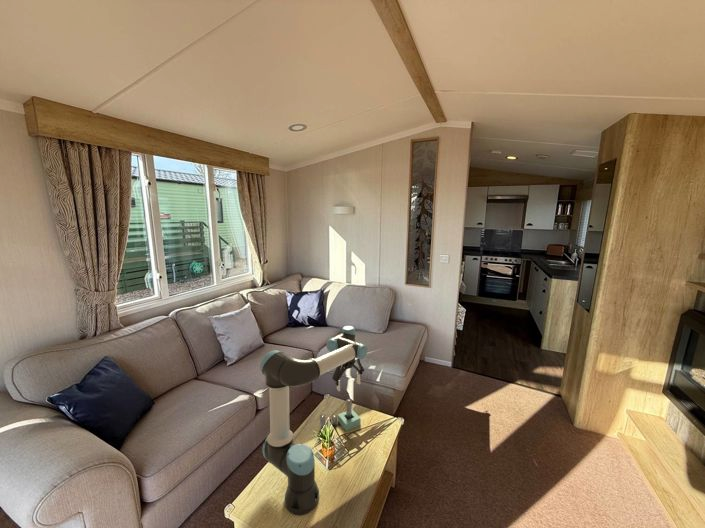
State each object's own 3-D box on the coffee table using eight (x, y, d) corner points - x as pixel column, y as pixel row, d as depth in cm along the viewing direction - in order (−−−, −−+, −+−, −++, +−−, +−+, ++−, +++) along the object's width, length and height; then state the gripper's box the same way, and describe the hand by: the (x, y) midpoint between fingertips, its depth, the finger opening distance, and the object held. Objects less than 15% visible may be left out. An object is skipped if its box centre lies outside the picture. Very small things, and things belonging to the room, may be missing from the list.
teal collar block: (345, 431, 175) (345, 424, 175) (337, 420, 184) (337, 414, 183) (360, 424, 180) (360, 418, 180) (352, 415, 189) (352, 408, 188)
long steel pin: (348, 425, 180) (347, 402, 177) (345, 422, 183) (345, 399, 180) (352, 423, 182) (352, 401, 179) (349, 420, 184) (349, 398, 182)
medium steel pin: (321, 432, 175) (321, 418, 173) (319, 429, 177) (318, 415, 176) (326, 430, 176) (326, 416, 175) (324, 427, 179) (323, 413, 177)
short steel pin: (333, 426, 179) (332, 418, 179) (330, 423, 182) (330, 415, 181) (337, 424, 181) (337, 416, 180) (335, 421, 184) (335, 413, 183)
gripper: (332, 361, 165) (332, 396, 168) (370, 350, 177) (369, 383, 181) (326, 355, 171) (326, 389, 175) (363, 345, 183) (363, 377, 187)
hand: (348, 386), depth 178 cm, fingers open, 13 cm apart
